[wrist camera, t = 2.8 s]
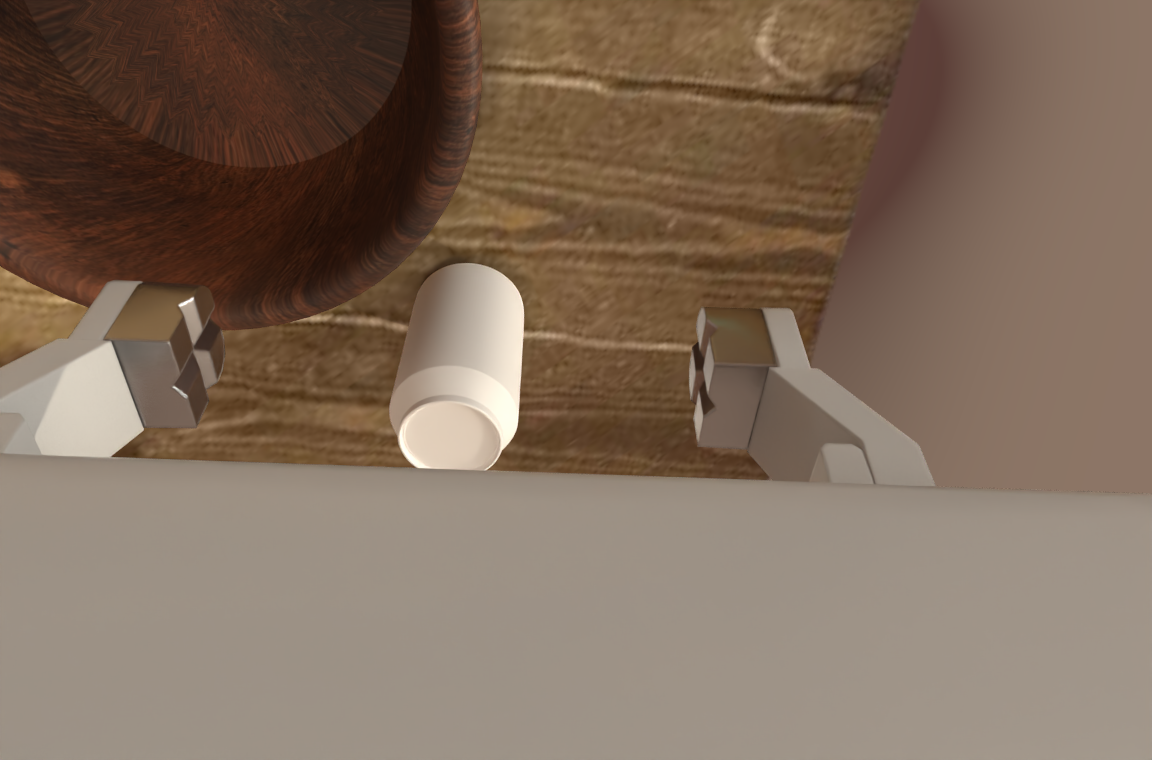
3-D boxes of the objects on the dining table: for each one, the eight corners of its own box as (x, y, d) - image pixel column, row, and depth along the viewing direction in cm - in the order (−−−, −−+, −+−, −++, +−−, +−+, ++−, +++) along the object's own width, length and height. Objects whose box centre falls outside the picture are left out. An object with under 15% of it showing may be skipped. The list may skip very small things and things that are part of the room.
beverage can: (401, 266, 50) (363, 402, 40) (509, 245, 49) (497, 379, 39) (435, 353, 53) (408, 497, 44) (536, 335, 53) (530, 477, 43)
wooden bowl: (377, -482, 31) (313, -542, 23) (556, 167, 46) (555, 269, 38) (-229, -272, 34) (-472, -260, 26) (121, 269, 49) (35, 383, 41)
